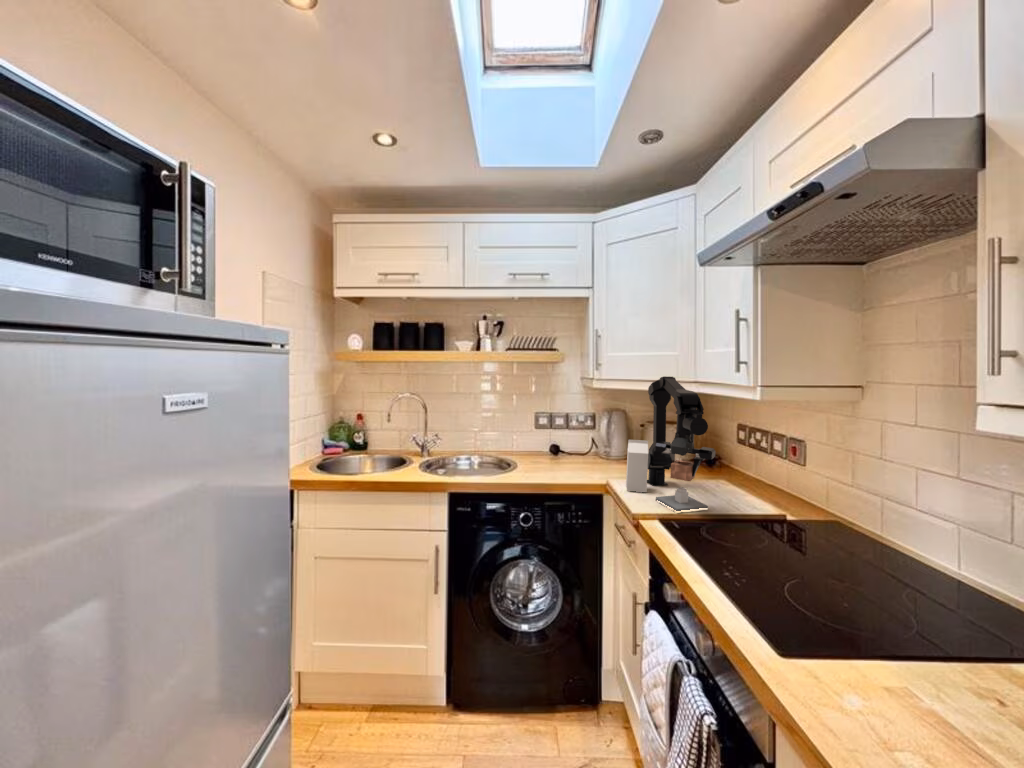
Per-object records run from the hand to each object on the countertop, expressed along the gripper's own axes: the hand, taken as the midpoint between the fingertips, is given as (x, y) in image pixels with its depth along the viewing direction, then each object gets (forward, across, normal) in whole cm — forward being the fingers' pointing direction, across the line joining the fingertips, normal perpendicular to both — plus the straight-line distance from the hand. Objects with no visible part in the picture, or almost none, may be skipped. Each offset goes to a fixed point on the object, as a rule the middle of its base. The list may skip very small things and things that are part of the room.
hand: (682, 474), depth 157 cm
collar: (+1, 0, 0) cm, 1 cm away
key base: (+11, 0, 0) cm, 11 cm away
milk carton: (+11, -19, +7) cm, 23 cm away
